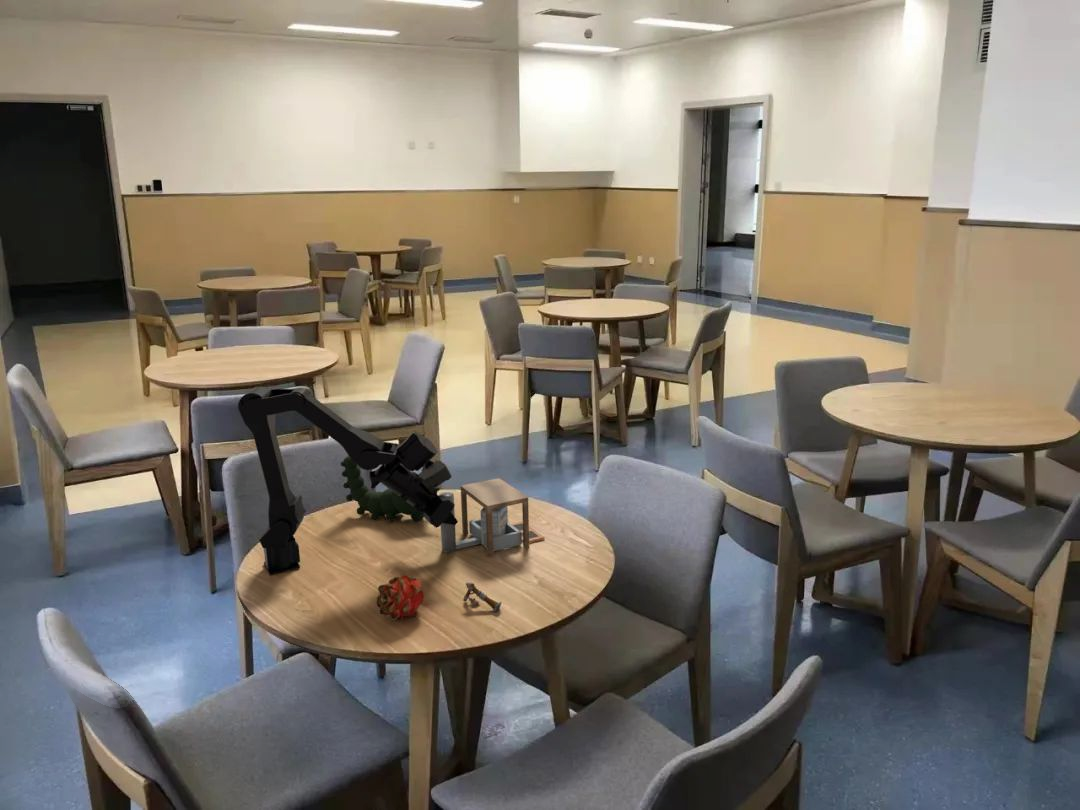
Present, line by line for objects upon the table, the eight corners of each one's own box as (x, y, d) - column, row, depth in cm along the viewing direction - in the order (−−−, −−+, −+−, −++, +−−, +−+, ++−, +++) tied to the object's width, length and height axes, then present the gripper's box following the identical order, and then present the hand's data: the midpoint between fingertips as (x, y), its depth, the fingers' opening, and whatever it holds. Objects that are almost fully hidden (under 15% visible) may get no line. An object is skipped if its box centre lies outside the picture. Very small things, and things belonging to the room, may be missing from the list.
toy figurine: (343, 527, 202) (436, 528, 195) (331, 454, 198) (425, 452, 190) (361, 513, 211) (451, 513, 203) (350, 442, 206) (441, 440, 199)
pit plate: (525, 544, 186) (525, 541, 186) (504, 527, 196) (504, 525, 196) (544, 539, 189) (544, 536, 189) (522, 523, 198) (522, 520, 198)
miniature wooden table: (489, 556, 180) (487, 505, 177) (462, 533, 193) (460, 485, 190) (529, 547, 185) (528, 497, 182) (500, 524, 197) (499, 478, 194)
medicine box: (500, 547, 185) (499, 511, 182) (481, 545, 185) (480, 510, 183) (508, 533, 192) (507, 498, 190) (490, 531, 193) (489, 497, 191)
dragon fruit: (383, 638, 151) (411, 615, 162) (418, 617, 148) (443, 595, 160) (359, 599, 151) (388, 579, 163) (393, 577, 149) (420, 558, 160)
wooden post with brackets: (463, 595, 162) (469, 578, 160) (494, 618, 159) (502, 601, 157) (457, 599, 160) (464, 581, 158) (490, 622, 157) (497, 605, 156)
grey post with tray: (452, 560, 178) (450, 504, 174) (432, 541, 188) (429, 488, 185) (521, 544, 185) (520, 490, 182) (498, 526, 196) (497, 475, 192)
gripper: (443, 464, 168) (493, 505, 176) (412, 441, 184) (459, 479, 192) (409, 508, 166) (461, 546, 174) (380, 481, 182) (429, 517, 190)
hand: (453, 520), depth 182 cm, fingers closed on grey post with tray, 3 cm apart
